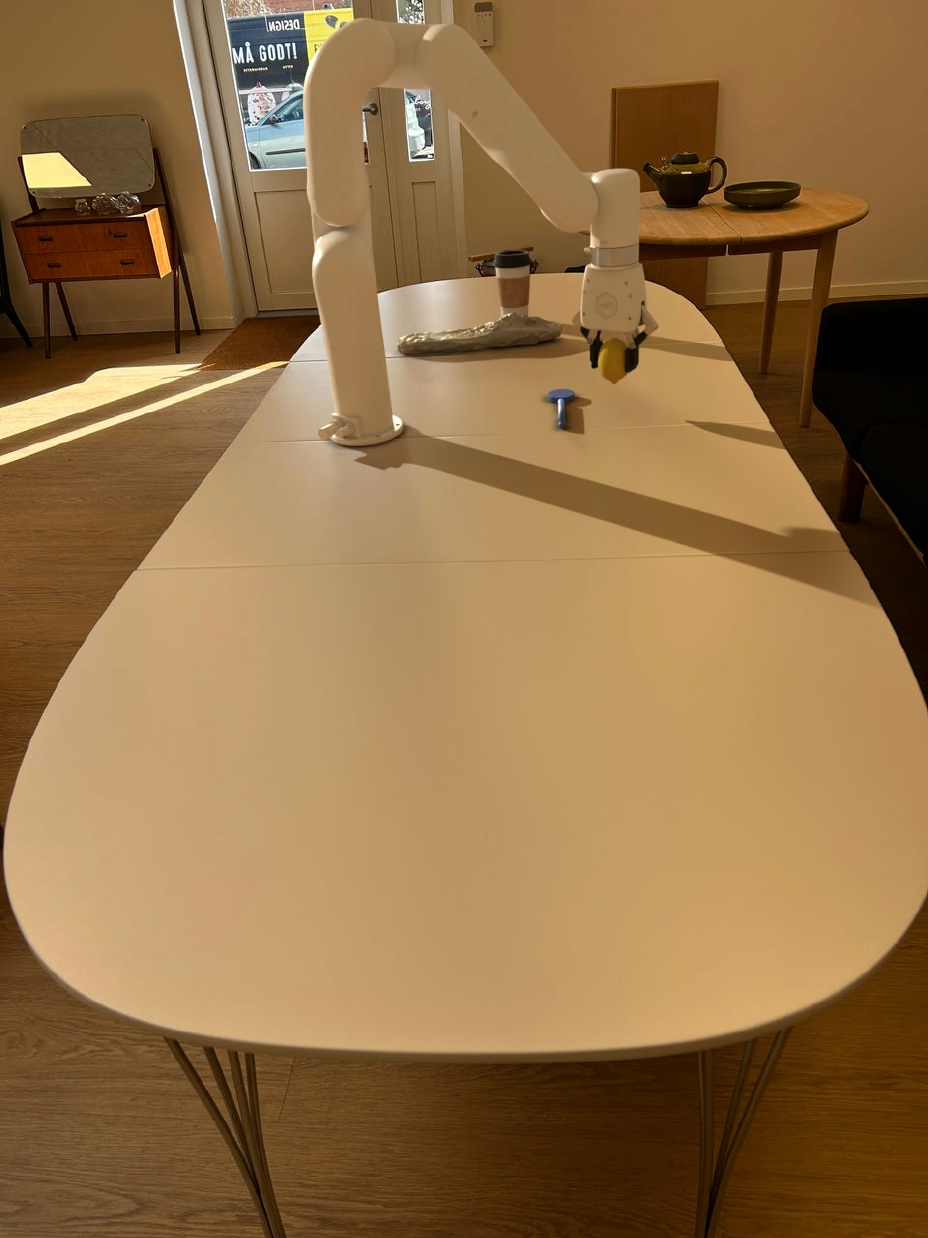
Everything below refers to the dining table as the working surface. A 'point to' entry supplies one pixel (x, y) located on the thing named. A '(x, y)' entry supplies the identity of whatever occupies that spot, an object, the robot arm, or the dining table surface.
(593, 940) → the dining table surface
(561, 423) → the blue paddle
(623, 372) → the lemon
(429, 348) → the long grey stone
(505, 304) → the coffee cup
